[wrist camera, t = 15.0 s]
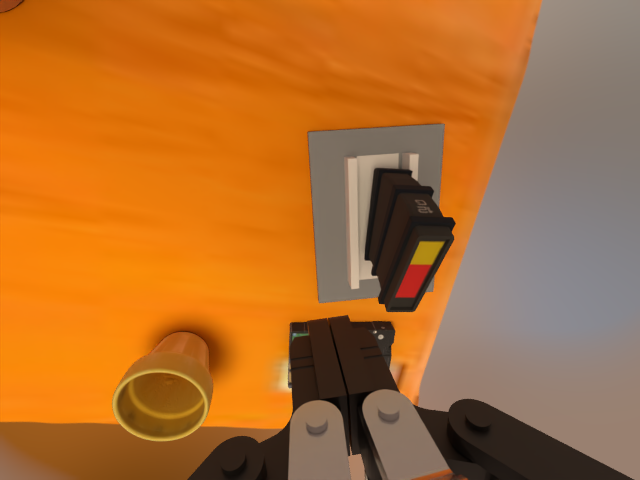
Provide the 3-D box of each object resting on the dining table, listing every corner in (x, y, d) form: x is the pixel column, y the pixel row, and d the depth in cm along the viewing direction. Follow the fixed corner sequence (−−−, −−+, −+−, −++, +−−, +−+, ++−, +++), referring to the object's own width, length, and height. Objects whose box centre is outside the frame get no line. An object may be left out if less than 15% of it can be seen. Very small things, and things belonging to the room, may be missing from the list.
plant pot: (238, 355, 46) (227, 411, 37) (183, 392, 47) (158, 456, 38) (188, 305, 43) (162, 353, 34) (129, 346, 44) (88, 404, 35)
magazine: (410, 141, 36) (461, 233, 26) (382, 228, 45) (411, 322, 35) (377, 139, 36) (416, 231, 25) (356, 227, 45) (377, 323, 34)
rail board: (307, 131, 37) (309, 132, 34) (440, 123, 39) (455, 123, 35) (318, 299, 45) (321, 313, 41) (430, 288, 46) (441, 300, 43)
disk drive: (389, 317, 48) (288, 320, 46) (396, 328, 45) (289, 332, 43) (382, 374, 51) (287, 379, 49) (387, 388, 48) (288, 393, 47)
